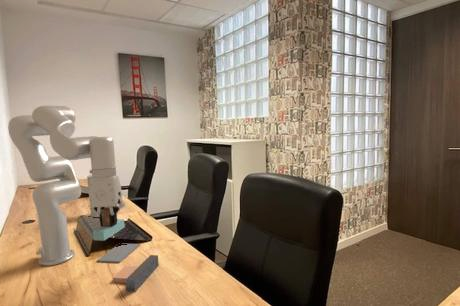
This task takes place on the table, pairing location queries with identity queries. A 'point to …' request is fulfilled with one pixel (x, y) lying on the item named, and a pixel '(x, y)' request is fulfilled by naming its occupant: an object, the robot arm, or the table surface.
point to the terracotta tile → (124, 274)
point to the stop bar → (141, 273)
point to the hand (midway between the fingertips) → (108, 224)
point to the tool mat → (118, 253)
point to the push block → (107, 226)
